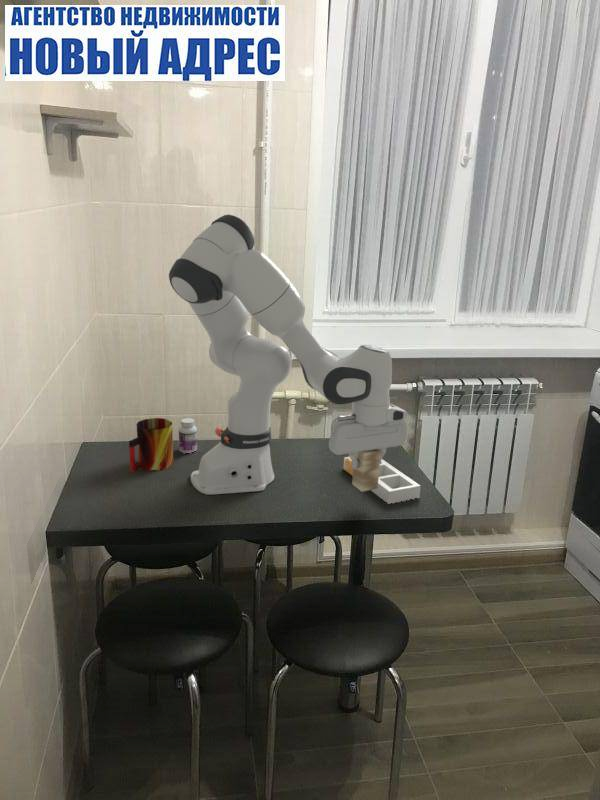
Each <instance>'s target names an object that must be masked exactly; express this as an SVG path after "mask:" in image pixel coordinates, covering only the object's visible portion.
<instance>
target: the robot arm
mask: <svg viewBox="0 0 600 800" xmlns="http://www.w3.org/2000/svg"><path fill="white" fill-rule="evenodd" d="M255 243H256V242H255V236H254V233H253V231H252V230H251V228H250V226H249V225H248V224H247V223H246V222H245V221H244V220H242V219H241V218H240V217H237V216H235V215H232V214H223V215H222V216H220V217H219V218H217V219H215V220H213V221H212V222H211V224H210V225H209V226H208V227H207V228H205V229H204V230H203V231H201V233H199V235H197V236H196V237H195V238H193V241H192V243H190V245H189V246H188V247H187V248H186V249H185V250H184V252H183V254H182V255H181V256H180V258H177V259H176V260H175V262H174V263H173V264H172V266H171V269H170V270H169V273H168V281H169V283H170V285H171V288H172V289H173V291H174V292H175V293H176V294H177V295H178V296H179V297H180V299H183V300H184V301H186V302H187V303H189V305H190V307H191V309H192V311H193V312H194V313H195V315H196V318H198V320H199V321H200V322H199V323H201V325H202V326H203V328H204V329H205V331H206V333H207V335H208V337H209V338H210V339H209V340H210V344H209V350H208V352H209V359H210V361H211V362H212V363H213V364H214V365H215V366H216V367H218V368H219V369H221V370H222V371H224V372H225V373H227V374H231V375H233V376H238V377H239V379H240V384H239V388H238V391H237V392H235V393H233V394H232V395H230V397H229V398H228V401H227V427H226V428H225V429H224V430H223V429H222V428H221V427H216V428H215V431H214V432H215V435H217V437H219V438H220V442H218V443H217V444H216V445H215V446H214V447H212V448H211V449H210V450H208V451H207V452H205V453H204V454H203V455H202V457H201V458H200V462H199V468H198V470H194V471H192V472H191V474H190V482H191V484H192V486H193V487H194V488H195V489H196V490H197V491H198V492H200V493H202V494H204V495H222V494H223V495H224V494H236V493H238V494H239V493H250V492H261V491H264V490H265V489H266V487H267V486H268V485H269V484H270V483H271V484H272V482H273V481H274V480H275V473H274V469H273V464H272V458H271V445H272V428H271V425H270V423H271V421H270V419H271V418H270V417H271V404H272V399H273V396H274V393H275V391H276V389H277V387H278V386H279V385H280V384H281V383H283V382H284V381H285V380H286V379H287V378H288V376H289V375H290V373H291V370H292V365H293V364H292V361H293V359H292V356H291V353H292V354H293V355H294V357H295V358H296V359H297V360H298V362H299V364H300V366H301V370H302V374H303V377H304V381H305V383H307V385H308V386H309V387H310V388H311V389H313V390H315V391H316V392H317V393H319V394H320V396H322V397H323V398H325V400H327V401H329V402H330V403H332V404H335V405H348V404H351V403H352V405H351V414H347V415H338V416H337V417H336V418H335V419H333V420H332V421H331V423H330V424H331V425H330V426H331V427H330V436H329V441H328V448H329V450H330V451H331V452H332V453H333V454H335V455H336V456H340V455H346V454H347V455H348V457H350V458H351V460H352V464H351V465H352V467H353V468H354V469H355V468H360V461H359V460H358V459H356V457H355V456H357V453H358V452H362V451H368V450H375V449H378V450H379V451H380V464H381V459H382V460H383V457H384V456H385V454H386V453H387V448H393V447H400V446H404V444H405V443H406V442H407V435H408V425H407V421H406V419H407V411H406V410H405V409H402V408H401V407H399V406H397V405H394V404H393V403H390V402H391V401H390V400H391V399H390V389H391V386H392V379H393V378H392V377H393V361H392V356H391V353H390V352H389V351H387V350H386V349H384V348H382V347H379V346H376V345H372V344H361V345H360V346H359V347H357V349H356V350H354V351H353V352H352V353H350V354H348V355H347V356H345V357H342V358H340V357H339V356H338V355H336V354H335V353H334V352H332V351H330V350H329V349H326V348H324V347H322V345H320V344H319V342H318V341H317V339H316V338H315V337H314V336H313V334H312V333H311V332H310V330H309V329H308V328H307V326H306V325H305V323H304V321H303V319H304V316H305V312H306V305H305V303H304V301H303V299H302V297H301V296H300V294H299V292H298V290H297V288H296V287H295V286H294V285H293V283H292V282H291V281H290V279H289V278H288V277H287V276H286V275H285V273H284V272H283V271H282V270H281V269H280V268H279V266H277V264H276V263H274V262H273V261H272V259H270V258H269V257H268V256H266V255H265V254H264V253H263V252H262V251H260V250H258V249H255V248H254V246H255ZM249 314H250V316H251V317H252V318H253V319H254V320H255V321H256V322H257V323H258V324H259V325H260V326H261V327H262V328H263V329H265V330H266V331H267V332H268V333H270V334H271V335H273V336H275V337H277V338H279V339H281V340H282V342H283V343H284V344H285V345H286V347H287V348H288V349H287V348H285V347H284V346H283V345H281V344H279V343H277V342H275V341H273V340H270V339H266V338H261V337H258V336H255V335H253V334H252V333H251V332H249V331H248V330H247V327H246V326H247V325H246V324H247V323H248V320H249ZM289 350H290V351H291V353H290V351H289Z"/></svg>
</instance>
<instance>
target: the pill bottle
mask: <svg viewBox="0 0 600 800" xmlns="http://www.w3.org/2000/svg"><path fill="white" fill-rule="evenodd" d="M178 448H179V449H178V450H179V452H180V451H181V452H183V453H182V454H185V453H190V454H192V453H191V452H194V451H196V450H198V429H197V427H196V425H195V419H193V418H190V417H189V418H182V419H181V420H180V426H179V427H178ZM181 452H180V453H181ZM196 452H197V451H196ZM194 453H195V452H194Z"/></svg>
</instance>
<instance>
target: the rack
mask: <svg viewBox="0 0 600 800" xmlns="http://www.w3.org/2000/svg"><path fill="white" fill-rule="evenodd" d="M351 464H352V460H351V458H350V456H346V457H344V458H343V470H344V471H346V472H347V473H348V474H350V476H352V477H353V467H352V465H351ZM370 491H371V492H372V493H374V494H375V495H376V496H377V497H378V498H380V499H381V500H382V499H383V500H382V501H384V502H385V503H386V502H387V503H386V504H388V505H391V503H392V504H395V503H396V502H397V503H402V502H406V500H407V501H411V500H410V499H412V500H416V499H415V498H417V499H420V497H421V484H419V483H417V482H416V481H415V480H414V479H412V478H410V477H409V476H407V475H405V474H404V473H403V472H402V471H400V470H398V469H397V468H396V467H394V466H393V465H391V464H390V463H388V462H387V461H385V460H384V459H383V458H382V459H381V464H379V478H378V489H374V490H370ZM401 501H402V502H401Z"/></svg>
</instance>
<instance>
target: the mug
mask: <svg viewBox="0 0 600 800" xmlns="http://www.w3.org/2000/svg"><path fill="white" fill-rule="evenodd" d="M173 440H174V439H173V422H172V420H170V419H168V418H161V417H151V418H144V419H141V420H139V421H137V422H136V437H134V438H133V439H130V440H129V441H128V448H129V471H130V472H131V473H135V472H137V471H138V470H140V469H142V468H143V469H142V470H144V469H146V470H145V471H151V470H157V471H161V470H160V469H163V470H166V469H165V468H167V469H169V468H170V467H169V466H171V465H172V464H173V465H174V446H173V445H174V443H173V442H174V441H173ZM135 446H137V461H138V462H136V451H135V449H136V448H135ZM173 465H172V466H173ZM172 466H171V467H172ZM168 467H169V468H168Z"/></svg>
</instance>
